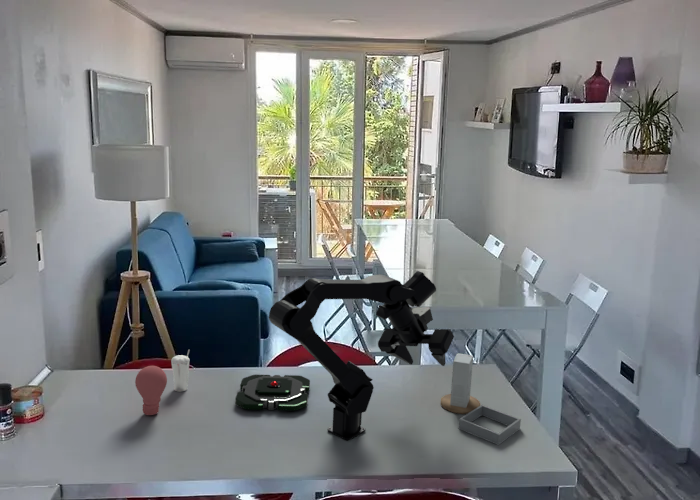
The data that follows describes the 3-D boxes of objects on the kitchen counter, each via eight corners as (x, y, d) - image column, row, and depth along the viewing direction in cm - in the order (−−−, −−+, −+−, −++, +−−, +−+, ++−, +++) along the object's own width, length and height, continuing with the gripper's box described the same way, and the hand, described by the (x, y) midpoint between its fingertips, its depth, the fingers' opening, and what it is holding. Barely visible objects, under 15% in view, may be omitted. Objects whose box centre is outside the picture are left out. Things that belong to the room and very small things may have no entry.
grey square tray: (498, 444, 142) (499, 434, 142) (458, 428, 149) (459, 418, 149) (519, 428, 150) (520, 419, 150) (481, 413, 157) (481, 404, 156)
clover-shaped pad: (310, 384, 171) (310, 368, 170) (307, 415, 153) (307, 398, 153) (243, 382, 171) (243, 366, 170) (233, 413, 153) (233, 396, 152)
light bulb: (173, 414, 151) (172, 367, 148) (146, 424, 146) (144, 375, 143) (157, 404, 155) (156, 358, 153) (130, 413, 150) (129, 366, 148)
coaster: (466, 418, 155) (467, 415, 154) (432, 404, 161) (433, 401, 161) (487, 405, 162) (487, 402, 162) (454, 392, 168) (454, 390, 168)
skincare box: (453, 395, 165) (457, 352, 162) (470, 398, 163) (473, 355, 161) (449, 405, 159) (452, 360, 156) (466, 408, 158) (470, 363, 155)
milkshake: (196, 387, 166) (195, 351, 163) (180, 394, 161) (179, 357, 159) (183, 382, 168) (183, 347, 166) (168, 389, 163) (167, 353, 161)
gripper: (449, 294, 148) (472, 340, 155) (383, 296, 159) (408, 339, 167) (432, 329, 141) (457, 375, 148) (365, 328, 152) (391, 371, 160)
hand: (427, 363), depth 156 cm, fingers open, 9 cm apart
